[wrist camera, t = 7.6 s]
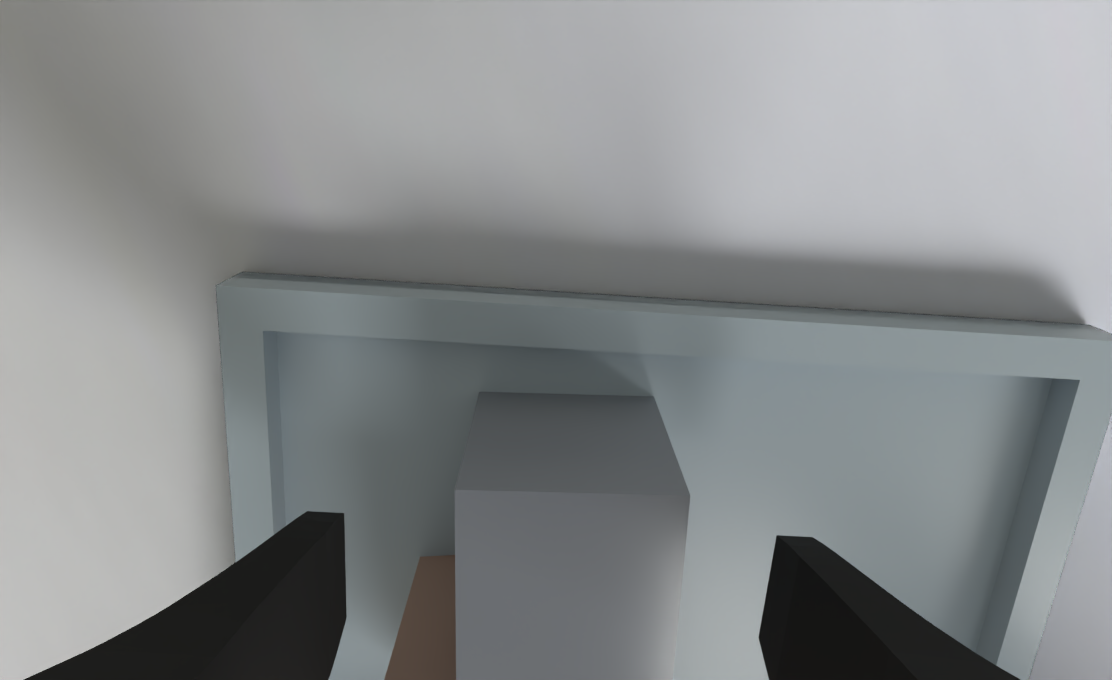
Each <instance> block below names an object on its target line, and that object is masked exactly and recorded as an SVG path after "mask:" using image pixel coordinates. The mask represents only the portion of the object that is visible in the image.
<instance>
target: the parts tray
mask: <svg viewBox="0 0 1112 680" xmlns="http://www.w3.org/2000/svg"><path fill="white" fill-rule="evenodd" d="M216 297H217V311H218V325H219V339H220V352H221V366H222V380H223V394H224V408H225V422H226V436H227V450H228V464H229V478H230V492H231V506H232V519H233V533H234V547H235V561H236V562H237V561H238V560H240V559H241V558H243V557H244V556H245V555H247V554H248V553H250V552H251V551H252V550H254V549H255V548H257V547H258V546H259V545H261V544H262V543H263V542H265V541H266V540H267V539H269V538H270V537H272V536H273V535H274V534H276V533H277V532H278V531H280V530H281V529H282V528H284V527H285V526H286V525H288V524H289V523H291V522H292V521H293V520H295V519H296V518H298V517H299V516H301V515H302V514H304V513H305V512H307V511H314V512H334V513H344V523H345V568H346V613H347V618H346V622H345V626H344V629H343V633H342V637H341V640H340V644H339V647H338V651H337V654H336V658H335V661H334V664H333V668H332V671H331V674H330V677H329V679H328V680H384V679H385V675H386V672H387V669H388V665H389V662H390V658H391V655H392V651H393V648H394V644H395V641H396V638H397V634H398V631H399V627H400V624H401V620H402V617H403V613H404V610H405V607H406V603H407V600H408V596H409V593H410V589H411V586H412V583H413V579H414V576H415V572H416V569H417V565H418V562H419V558H420V557H424V556H444V555H455V486H456V482H457V478H458V474H459V470H460V466H461V462H462V458H463V454H464V450H465V446H466V442H467V438H468V434H469V430H470V426H471V422H472V418H473V414H474V410H475V406H476V402H477V398H478V394H479V392H511V393H547V394H583V395H619V396H654V398H655V401H656V404H657V406H658V409H659V412H660V414H661V417H662V420H663V422H664V425H665V428H666V431H667V433H668V436H669V439H670V441H671V444H672V447H673V450H674V452H675V455H676V458H677V460H678V463H679V466H680V469H681V471H682V474H683V477H684V479H685V482H686V485H687V487H688V490H689V493H690V506H689V517H688V527H687V537H686V547H685V558H684V568H683V578H682V588H681V599H680V609H679V619H678V629H677V640H676V650H675V660H674V670H673V680H769V677H768V674H767V670H766V666H765V662H764V658H763V654H762V650H761V646H760V642H759V638H758V637H759V631H760V626H761V620H762V615H763V609H764V603H765V598H766V592H767V586H768V581H769V575H770V570H771V564H772V558H773V553H774V547H775V541H776V536H777V535H781V536H801V537H813V538H815V539H816V540H818V541H820V542H821V543H823V544H824V545H826V546H827V547H828V548H830V549H831V550H833V551H834V552H835V553H837V554H838V555H839V556H841V557H842V558H844V559H845V560H846V561H848V562H849V563H850V564H852V565H853V566H854V567H855V568H857V569H858V570H859V571H861V572H862V573H863V574H865V575H866V576H867V577H869V578H870V579H871V580H873V581H874V582H875V583H877V584H878V585H879V586H881V587H882V588H883V589H885V590H886V591H887V592H889V593H890V594H891V595H893V596H894V597H895V598H897V599H898V600H899V601H901V602H902V603H904V604H905V605H906V606H908V607H909V608H910V609H912V610H913V611H915V612H916V613H917V614H919V615H920V616H922V617H923V618H924V619H926V620H927V621H929V622H930V623H932V624H933V625H934V626H936V627H937V628H939V629H940V630H942V631H943V632H945V633H946V634H948V635H949V636H951V637H952V638H954V639H955V640H957V641H958V642H960V643H961V644H963V645H964V646H966V647H967V648H969V649H970V650H972V651H974V652H975V653H977V654H978V655H980V656H982V657H983V658H985V659H986V660H988V661H990V662H991V663H993V664H994V665H996V666H998V667H1000V668H1001V669H1003V670H1005V671H1007V672H1008V673H1010V674H1012V675H1014V676H1015V677H1017V678H1019V679H1020V680H1029V677H1030V674H1031V670H1032V667H1033V664H1034V661H1035V657H1036V654H1037V651H1038V648H1039V645H1040V641H1041V638H1042V635H1043V632H1044V629H1045V625H1046V622H1047V619H1048V616H1049V613H1050V609H1051V606H1052V603H1053V600H1054V597H1055V593H1056V590H1057V587H1058V584H1059V581H1060V577H1061V574H1062V571H1063V568H1064V565H1065V561H1066V558H1067V555H1068V552H1069V549H1070V545H1071V542H1072V539H1073V536H1074V533H1075V529H1076V526H1077V523H1078V520H1079V516H1080V513H1081V510H1082V507H1083V504H1084V500H1085V497H1086V494H1087V491H1088V488H1089V484H1090V481H1091V478H1092V475H1093V472H1094V468H1095V465H1096V462H1097V459H1098V456H1099V452H1100V449H1101V446H1102V443H1103V440H1104V436H1105V433H1106V430H1107V427H1108V424H1109V420H1110V417H1111V414H1112V334H1111V333H1109V332H1106V331H1103V330H1101V329H1098V328H1096V327H1093V326H1091V325H1085V324H1069V323H1053V322H1037V321H1021V320H1005V319H989V318H973V317H957V316H941V315H925V314H908V313H892V312H876V311H860V310H844V309H828V308H812V307H796V306H780V305H764V304H748V303H732V302H716V301H700V300H684V299H668V298H652V297H636V296H620V295H604V294H588V293H572V292H556V291H540V290H524V289H508V288H492V287H476V286H460V285H444V284H428V283H412V282H396V281H380V280H364V279H348V278H332V277H316V276H300V275H284V274H268V273H252V272H241V273H239V274H237V275H235V276H233V277H231V278H229V279H227V280H226V281H224V282H222V283H220V284H218V285H216Z"/></svg>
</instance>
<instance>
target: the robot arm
mask: <svg viewBox="0 0 1112 680" xmlns="http://www.w3.org/2000/svg"><path fill="white" fill-rule="evenodd" d="M346 618H347V613H346V568H345V523H344V513H334V512H314V511H307V512H305V513H304V514H302V515H301V516H299V517H298V518H296V519H295V520H293V521H292V522H291V523H289V524H288V525H286V526H285V527H284V528H282V529H281V530H280V531H278V532H277V533H276V534H274V535H273V536H272V537H270V538H269V539H267V540H266V541H265V542H263V543H262V544H261V545H259V546H258V547H257V548H255V549H254V550H252V551H251V552H250V553H248V554H247V555H245V556H244V557H243V558H241V559H240V560H238V561H237V562H236V563H234V564H233V565H231V566H230V567H229V568H227V569H226V570H224V571H223V572H221V573H220V574H218V575H217V576H215V577H214V578H212V579H211V580H209V581H208V582H206V583H205V584H203V585H201V586H200V587H198V588H197V589H195V590H194V591H192V592H191V593H189V594H188V595H186V596H184V597H183V598H181V599H180V600H178V601H177V602H175V603H174V604H172V605H170V606H169V607H167V608H166V609H164V610H162V611H161V612H159V613H157V614H156V615H154V616H152V617H150V618H149V619H147V620H145V621H143V622H141V623H140V624H138V625H136V626H134V627H132V628H131V629H129V630H127V631H125V632H123V633H121V634H119V635H117V636H115V637H114V638H112V639H110V640H108V641H106V642H104V643H102V644H100V645H98V646H96V647H94V648H92V649H90V650H88V651H86V652H84V653H82V654H79V655H77V656H75V657H73V658H71V659H68V660H66V661H64V662H62V663H60V664H57V665H55V666H53V667H51V668H49V669H46V670H44V671H42V672H40V673H38V674H35V675H33V676H31V677H29V678H27V679H24V680H328V679H329V677H330V674H331V671H332V668H333V664H334V661H335V658H336V654H337V651H338V647H339V644H340V640H341V637H342V633H343V629H344V626H345V622H346ZM758 638H759V642H760V646H761V650H762V654H763V658H764V662H765V666H766V670H767V674H768V677H769V680H1020V679H1019V678H1017V677H1015V676H1014V675H1012V674H1010V673H1008V672H1007V671H1005V670H1003V669H1001V668H1000V667H998V666H996V665H994V664H993V663H991V662H990V661H988V660H986V659H985V658H983V657H982V656H980V655H978V654H977V653H975V652H974V651H972V650H970V649H969V648H967V647H966V646H964V645H963V644H961V643H960V642H958V641H957V640H955V639H954V638H952V637H951V636H949V635H948V634H946V633H945V632H943V631H942V630H940V629H939V628H937V627H936V626H934V625H933V624H932V623H930V622H929V621H927V620H926V619H924V618H923V617H922V616H920V615H919V614H917V613H916V612H915V611H913V610H912V609H910V608H909V607H908V606H906V605H905V604H904V603H902V602H901V601H899V600H898V599H897V598H895V597H894V596H893V595H891V594H890V593H889V592H887V591H886V590H885V589H883V588H882V587H881V586H879V585H878V584H877V583H875V582H874V581H873V580H871V579H870V578H869V577H867V576H866V575H865V574H863V573H862V572H861V571H859V570H858V569H857V568H855V567H854V566H853V565H852V564H850V563H849V562H848V561H846V560H845V559H844V558H842V557H841V556H839V555H838V554H837V553H835V552H834V551H833V550H831V549H830V548H828V547H827V546H826V545H824V544H823V543H821V542H820V541H818V540H816V539H815V538H813V537H801V536H781V535H777V536H776V541H775V547H774V553H773V558H772V564H771V570H770V575H769V581H768V586H767V592H766V598H765V603H764V609H763V615H762V620H761V626H760V631H759V637H758Z"/></svg>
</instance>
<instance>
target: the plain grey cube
mask: <svg viewBox="0 0 1112 680" xmlns="http://www.w3.org/2000/svg"><path fill="white" fill-rule="evenodd" d="M689 506H690V493H689V490H688V487H687V485H686V482H685V479H684V477H683V474H682V471H681V469H680V466H679V463H678V460H677V458H676V455H675V452H674V450H673V447H672V444H671V441H670V439H669V436H668V433H667V431H666V428H665V425H664V422H663V420H662V417H661V414H660V412H659V409H658V406H657V404H656V401H655V398H654V396H619V395H583V394H547V393H511V392H479V394H478V398H477V402H476V406H475V410H474V414H473V418H472V422H471V426H470V430H469V434H468V438H467V442H466V446H465V450H464V454H463V458H462V462H461V466H460V470H459V474H458V478H457V482H456V486H455V605H456V680H673V670H674V660H675V650H676V640H677V629H678V619H679V609H680V599H681V588H682V578H683V568H684V558H685V547H686V537H687V527H688V517H689Z"/></svg>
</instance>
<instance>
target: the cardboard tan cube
mask: <svg viewBox="0 0 1112 680" xmlns="http://www.w3.org/2000/svg"><path fill="white" fill-rule="evenodd" d="M384 680H456V605H455V555H444V556H424V557H420V558H419V562H418V565H417V569H416V572H415V576H414V579H413V583H412V586H411V589H410V593H409V596H408V600H407V603H406V607H405V610H404V613H403V617H402V620H401V624H400V627H399V631H398V634H397V638H396V641H395V644H394V648H393V651H392V655H391V658H390V662H389V665H388V669H387V672H386V675H385V679H384Z"/></svg>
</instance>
